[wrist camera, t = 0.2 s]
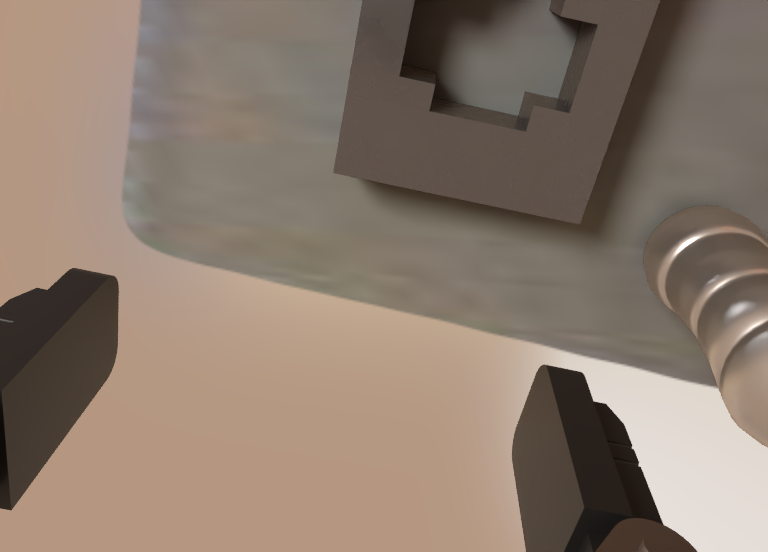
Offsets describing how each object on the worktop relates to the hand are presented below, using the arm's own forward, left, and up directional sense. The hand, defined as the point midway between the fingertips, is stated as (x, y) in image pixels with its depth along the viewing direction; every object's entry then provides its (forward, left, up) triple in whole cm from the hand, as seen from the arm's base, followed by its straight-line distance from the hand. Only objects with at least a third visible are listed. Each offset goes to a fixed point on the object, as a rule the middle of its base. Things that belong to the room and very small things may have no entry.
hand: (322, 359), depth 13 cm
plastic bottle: (+6, +20, -29) cm, 35 cm away
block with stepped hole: (-3, +5, -28) cm, 29 cm away
